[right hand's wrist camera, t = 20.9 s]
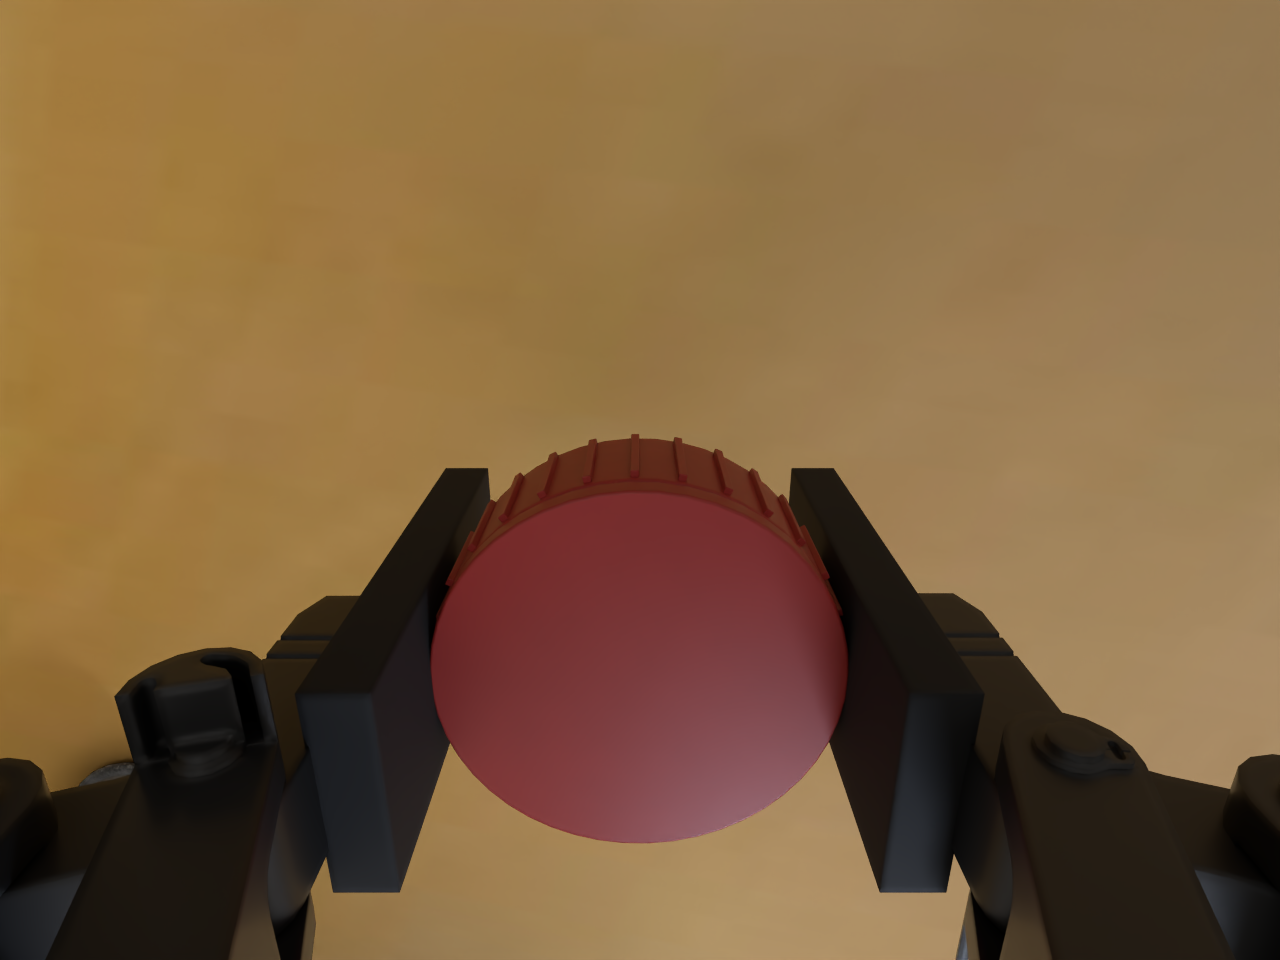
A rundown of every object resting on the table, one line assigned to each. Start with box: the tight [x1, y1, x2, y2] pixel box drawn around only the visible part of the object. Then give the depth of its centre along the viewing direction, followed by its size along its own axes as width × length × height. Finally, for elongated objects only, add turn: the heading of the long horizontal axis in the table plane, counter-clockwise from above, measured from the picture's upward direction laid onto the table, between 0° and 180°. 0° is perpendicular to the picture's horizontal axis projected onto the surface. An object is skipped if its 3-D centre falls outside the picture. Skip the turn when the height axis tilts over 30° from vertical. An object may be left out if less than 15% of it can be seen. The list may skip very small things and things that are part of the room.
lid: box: [430, 434, 848, 843], centre depth 11 cm, size 6×6×2 cm
